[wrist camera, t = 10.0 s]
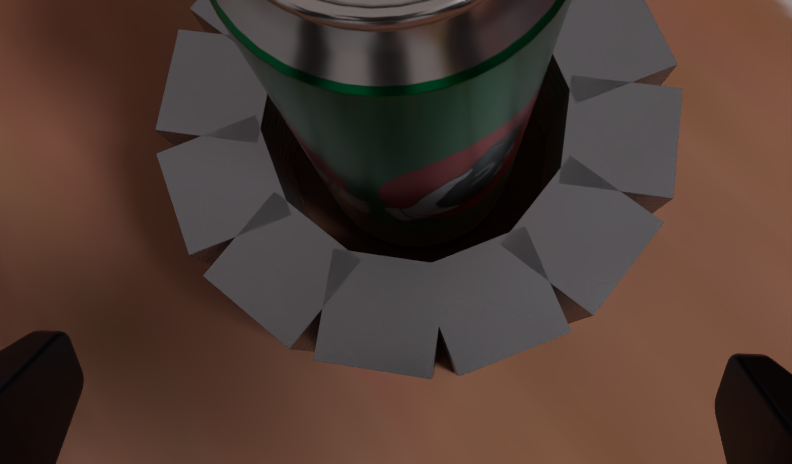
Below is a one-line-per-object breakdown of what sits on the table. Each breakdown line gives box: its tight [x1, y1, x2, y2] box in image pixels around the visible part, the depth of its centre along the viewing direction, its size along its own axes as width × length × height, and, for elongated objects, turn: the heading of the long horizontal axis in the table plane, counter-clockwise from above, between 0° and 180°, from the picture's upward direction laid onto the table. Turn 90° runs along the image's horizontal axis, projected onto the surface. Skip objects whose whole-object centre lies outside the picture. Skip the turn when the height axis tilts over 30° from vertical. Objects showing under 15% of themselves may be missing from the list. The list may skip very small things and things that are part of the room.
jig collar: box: [155, 0, 683, 379], centre depth 17 cm, size 12×12×4 cm
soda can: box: [209, 0, 571, 247], centre depth 13 cm, size 5×5×12 cm
